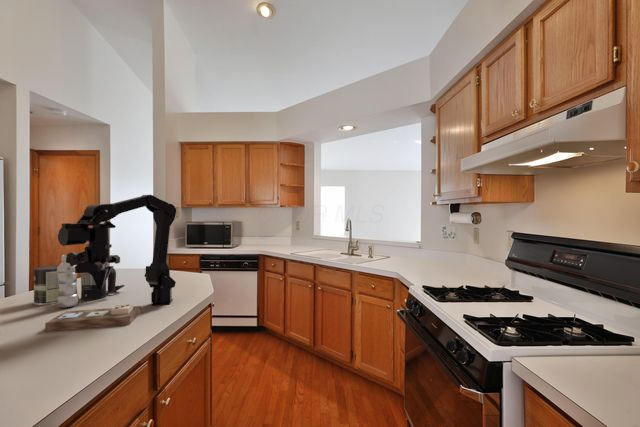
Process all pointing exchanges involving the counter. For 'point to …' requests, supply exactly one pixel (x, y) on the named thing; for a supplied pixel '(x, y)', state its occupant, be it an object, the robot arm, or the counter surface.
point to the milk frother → (90, 288)
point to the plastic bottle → (67, 284)
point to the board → (92, 319)
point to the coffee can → (46, 285)
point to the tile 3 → (122, 309)
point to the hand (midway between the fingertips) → (100, 289)
